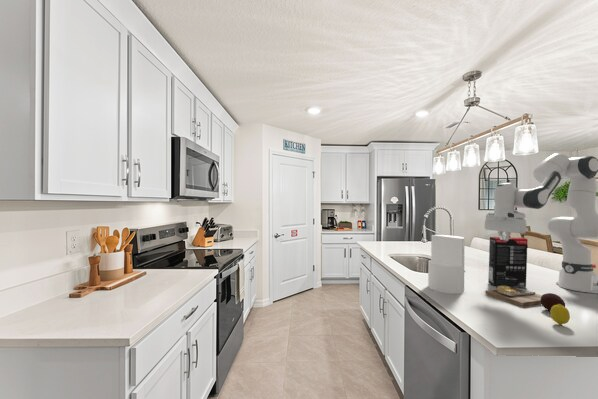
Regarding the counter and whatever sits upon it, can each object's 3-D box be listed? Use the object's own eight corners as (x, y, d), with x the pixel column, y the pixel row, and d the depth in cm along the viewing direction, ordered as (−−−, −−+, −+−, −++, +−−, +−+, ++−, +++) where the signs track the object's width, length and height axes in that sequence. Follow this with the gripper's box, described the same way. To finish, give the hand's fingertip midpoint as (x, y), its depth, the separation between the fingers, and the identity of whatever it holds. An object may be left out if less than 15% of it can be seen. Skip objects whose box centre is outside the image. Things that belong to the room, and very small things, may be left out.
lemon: (546, 322, 112) (546, 301, 112) (559, 321, 112) (559, 301, 112) (560, 328, 106) (560, 306, 106) (574, 328, 107) (574, 306, 107)
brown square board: (514, 291, 151) (514, 287, 151) (553, 303, 133) (553, 298, 133) (485, 294, 145) (485, 290, 145) (522, 307, 128) (522, 302, 128)
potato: (547, 314, 120) (547, 296, 120) (535, 306, 128) (535, 289, 129) (570, 316, 117) (570, 298, 117) (557, 308, 126) (557, 291, 126)
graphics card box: (519, 284, 163) (519, 236, 163) (528, 288, 156) (528, 238, 156) (487, 283, 165) (488, 236, 165) (494, 287, 158) (495, 237, 158)
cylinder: (440, 282, 166) (440, 234, 166) (470, 290, 151) (471, 237, 152) (421, 286, 157) (421, 235, 157) (452, 295, 142) (452, 239, 143)
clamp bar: (528, 292, 142) (528, 290, 142) (535, 294, 140) (535, 292, 140) (503, 293, 138) (503, 291, 138) (510, 295, 135) (510, 293, 135)
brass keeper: (503, 291, 142) (504, 285, 142) (516, 295, 137) (516, 288, 137) (497, 292, 141) (497, 285, 141) (509, 296, 135) (509, 289, 135)
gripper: (481, 212, 158) (481, 237, 158) (519, 214, 139) (519, 243, 139) (490, 212, 160) (490, 237, 160) (529, 214, 140) (528, 242, 140)
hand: (504, 240), depth 149 cm, fingers closed
